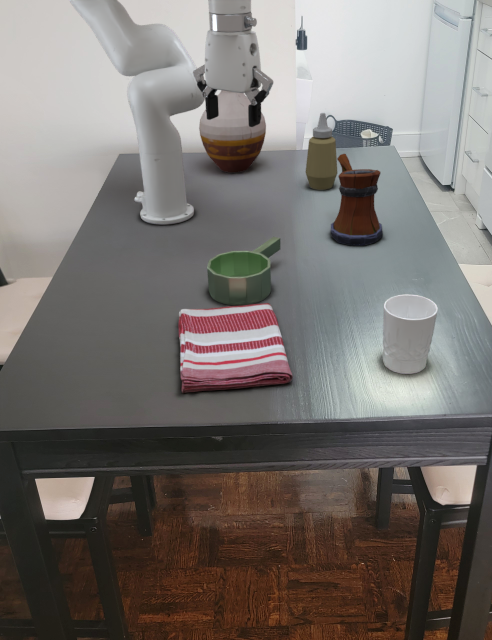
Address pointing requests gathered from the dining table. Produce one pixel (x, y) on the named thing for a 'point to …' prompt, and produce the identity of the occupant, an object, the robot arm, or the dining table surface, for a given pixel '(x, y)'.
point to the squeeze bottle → (321, 157)
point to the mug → (356, 206)
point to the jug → (232, 134)
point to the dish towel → (231, 348)
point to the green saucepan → (242, 274)
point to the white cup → (408, 332)
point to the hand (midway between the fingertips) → (233, 121)
